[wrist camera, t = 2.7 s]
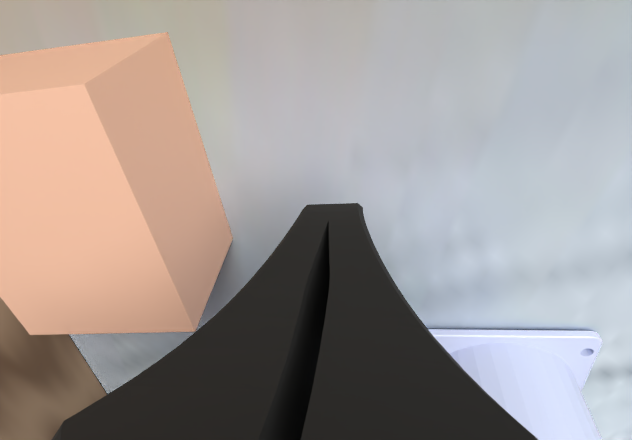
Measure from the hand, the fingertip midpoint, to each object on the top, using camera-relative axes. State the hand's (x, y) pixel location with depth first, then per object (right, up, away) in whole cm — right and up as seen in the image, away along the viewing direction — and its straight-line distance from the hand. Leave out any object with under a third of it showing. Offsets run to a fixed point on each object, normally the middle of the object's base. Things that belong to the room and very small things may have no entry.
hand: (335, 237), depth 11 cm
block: (-7, +3, +5) cm, 10 cm away
